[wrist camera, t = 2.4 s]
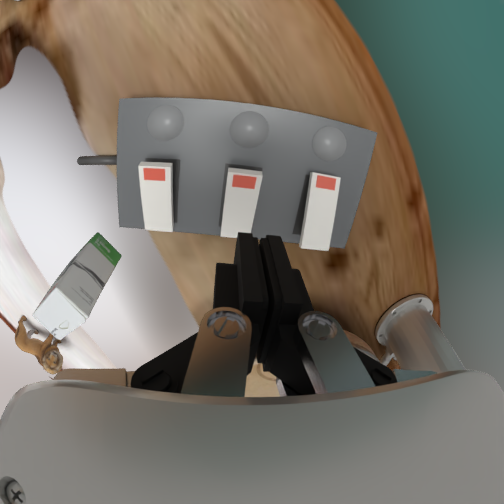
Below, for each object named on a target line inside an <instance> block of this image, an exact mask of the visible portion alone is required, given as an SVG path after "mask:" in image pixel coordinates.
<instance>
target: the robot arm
mask: <svg viewBox="0 0 504 504" xmlns="http://www.w3.org/2000/svg"><path fill="white" fill-rule="evenodd" d="M432 313H433V304H432V301H431V300H430V299H429V298H428V297H427V296H425V295H421V294H418V295H412V296H409V297H406V298H404V299H402V300H401V301H399V302H397V303H396V304H395V305H393V306H392V307H391V308H390V309H389V310H388V311H386V313H385V314H384V315H383V316H382V318H381V319H380V321H379V322H378V324H377V326H376V330H375V335H376V338H377V340H378V342H379V343H380V344H382V345H384V346H386V350H385V352H386V353H385V354H384V355H383V356H382V358H381V359H380V362H378V361H376V360H375V359H373V358H371V357H370V356H368V355H366V354H365V353H363V352H361V351H359V350H358V349H356V348H354V347H353V346H352V344H351V343H350V341H349V339H348V337H347V336H346V334H345V332H344V331H343V329H342V327H341V326H340V324H339V323H338V322H337V320H336V319H334V318H333V317H332V316H330V315H328V314H326V313H323V312H319V311H314V310H313V307H312V304H311V301H310V298H309V295H308V293H307V290H306V287H305V284H304V281H303V279H302V276H301V273H300V271H299V270H298V269H292V268H291V265H290V262H289V259H288V256H287V253H286V250H285V247H284V244H283V241H282V238H281V236H275V235H266V237H265V238H261V239H260V244H259V243H258V238H257V237H253V234H252V233H244V232H238V235H237V242H236V250H235V257H234V264H226V263H216V274H215V286H214V302H213V309H212V310H210V311H209V312H207V313H206V314H205V315H204V317H203V319H202V321H201V325H200V328H199V332H197V333H196V334H194V335H193V336H191V337H189V338H188V339H186V340H184V341H183V342H181V343H180V344H178V345H176V346H174V347H173V348H171V349H169V350H168V351H166V352H164V353H163V354H161V355H159V356H158V357H156V358H154V359H152V360H151V361H149V362H147V363H146V364H144V365H142V366H141V367H140V368H138V369H137V370H136V371H130V372H126V370H125V369H64V370H62V371H61V372H59V373H58V374H57V375H56V376H55V377H54V379H53V380H49V381H41V382H37V383H33V384H30V385H26V386H25V387H23V388H21V389H20V390H19V391H18V392H16V393H15V395H14V396H13V397H12V399H11V400H10V401H9V403H8V405H7V406H6V408H5V410H4V413H3V415H2V417H1V419H0V504H504V393H503V391H502V389H501V388H500V387H499V385H498V383H497V382H496V380H495V379H494V378H493V377H492V376H490V375H488V374H486V373H484V372H480V371H475V370H466V369H465V368H464V366H463V364H462V363H461V361H460V359H459V358H458V356H457V354H456V353H455V351H454V350H453V348H452V346H451V345H450V343H449V341H448V340H447V338H446V337H445V335H444V334H443V332H442V331H441V329H440V328H439V326H438V325H437V323H436V322H435V320H434V319H433V317H432ZM256 356H257V362H258V363H262V365H263V372H270V373H271V374H273V375H274V376H276V385H277V388H278V391H279V394H280V397H245V388H246V379H247V375H249V374H250V373H251V371H252V368H253V364H254V361H255V357H256ZM392 357H393V359H394V360H397V362H398V364H399V366H400V368H401V369H394V370H393V371H391V370H390V369H389V368H388V367H386V366H387V364H388V363H389V362H390V360H391V358H392Z"/></svg>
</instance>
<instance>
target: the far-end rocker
mask: <svg viewBox="0 0 504 504" xmlns="http://www.w3.org/2000/svg"><path fill="white" fill-rule="evenodd" d="M340 179H341V178H340V177H335V176H330V175H325V174H320V173H314V172H310V178H309V185H308V192H307V199H306V206H305V212H304V219H303V225H302V231H301V238H300V244H299V247H300V248H303V249H313V250H323V251H329V246H330V240H331V235H332V229H333V224H334V218H335V212H336V206H337V199H338V193H339V186H340Z"/></svg>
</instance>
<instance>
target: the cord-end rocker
mask: <svg viewBox="0 0 504 504" xmlns="http://www.w3.org/2000/svg"><path fill="white" fill-rule="evenodd" d="M138 168H139V180H140V191H141V200H142V209H143V217H144V224H145V230H153V231H165V232H173V229H174V216H173V163H163V162H140V164H139V165H138Z"/></svg>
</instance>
